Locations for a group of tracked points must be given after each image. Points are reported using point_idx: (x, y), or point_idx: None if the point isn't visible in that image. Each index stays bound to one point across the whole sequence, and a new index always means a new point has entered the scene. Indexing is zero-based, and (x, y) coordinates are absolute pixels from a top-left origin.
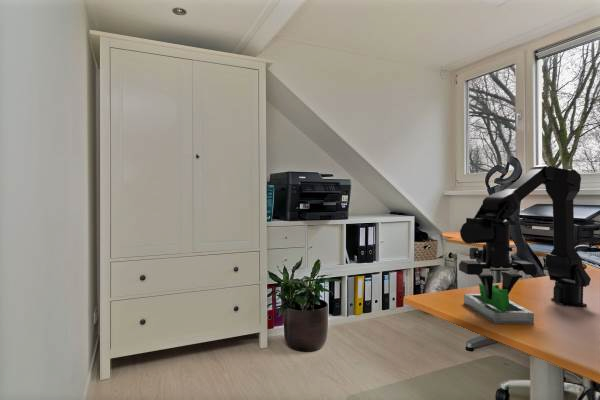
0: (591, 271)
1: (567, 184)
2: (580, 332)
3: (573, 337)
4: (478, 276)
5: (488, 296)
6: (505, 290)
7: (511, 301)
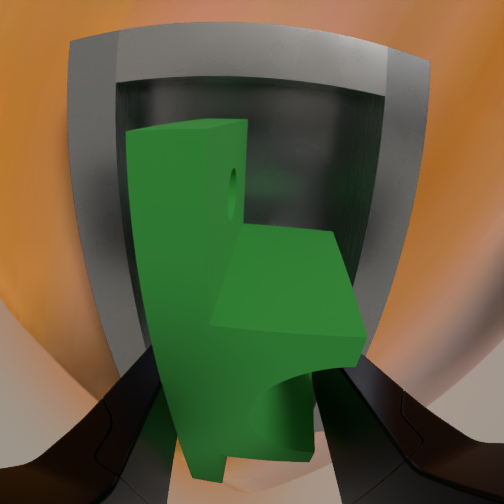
0: None
1: None
2: None
3: None
4: (9, 471)
5: None
6: (289, 456)
7: (388, 284)
